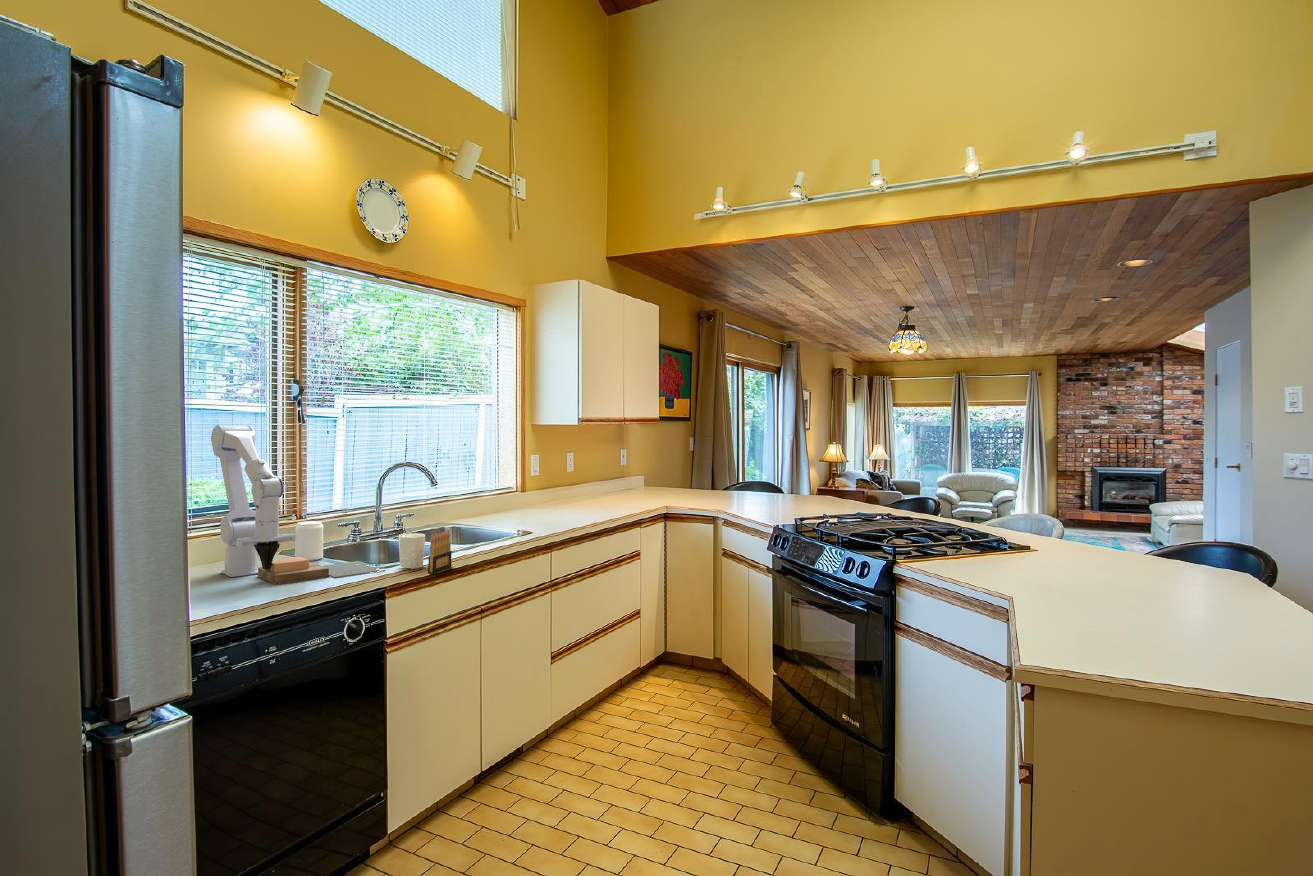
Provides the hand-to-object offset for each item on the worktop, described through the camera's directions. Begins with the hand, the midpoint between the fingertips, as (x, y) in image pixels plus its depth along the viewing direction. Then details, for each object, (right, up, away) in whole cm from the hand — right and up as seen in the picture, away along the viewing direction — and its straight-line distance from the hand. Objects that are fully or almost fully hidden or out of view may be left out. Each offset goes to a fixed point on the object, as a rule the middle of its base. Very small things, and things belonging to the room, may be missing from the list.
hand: (266, 569), depth 184 cm
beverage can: (-4, -3, +30) cm, 31 cm away
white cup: (+33, -4, +22) cm, 40 cm away
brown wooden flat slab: (+5, -3, +5) cm, 8 cm away
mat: (+15, -3, +16) cm, 22 cm away
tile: (+4, 0, +4) cm, 6 cm away
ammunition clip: (+43, -4, +18) cm, 47 cm away
